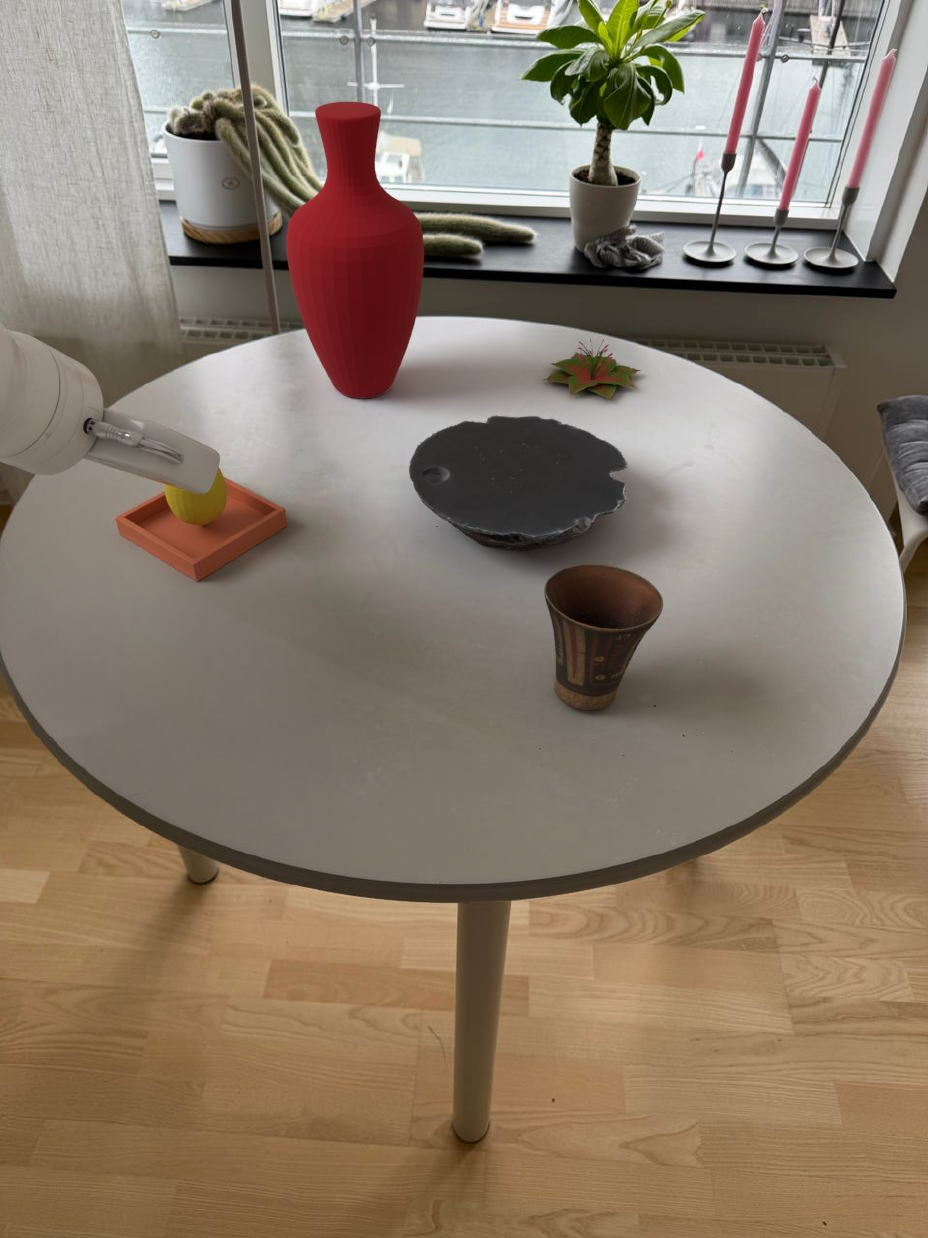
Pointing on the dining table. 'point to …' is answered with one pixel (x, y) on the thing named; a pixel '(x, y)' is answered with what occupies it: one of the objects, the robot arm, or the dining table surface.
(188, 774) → the dining table surface
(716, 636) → the dining table surface
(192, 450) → the robot arm
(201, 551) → the tray
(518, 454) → the board
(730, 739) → the dining table surface
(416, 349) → the dining table surface
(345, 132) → the vase
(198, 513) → the lemon
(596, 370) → the lily flower
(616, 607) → the cup
